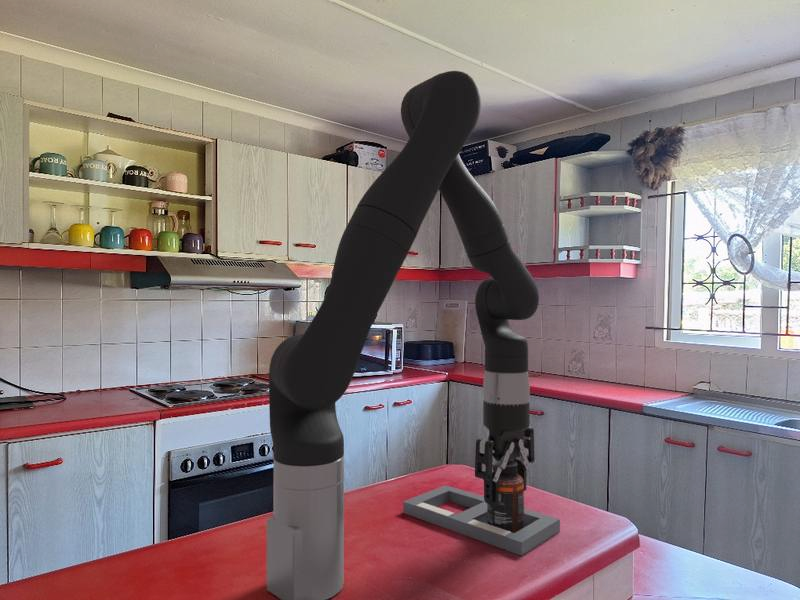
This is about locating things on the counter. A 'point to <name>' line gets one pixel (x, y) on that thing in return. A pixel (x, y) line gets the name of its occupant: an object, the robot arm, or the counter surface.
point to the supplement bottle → (508, 500)
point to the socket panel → (480, 520)
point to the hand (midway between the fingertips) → (506, 496)
